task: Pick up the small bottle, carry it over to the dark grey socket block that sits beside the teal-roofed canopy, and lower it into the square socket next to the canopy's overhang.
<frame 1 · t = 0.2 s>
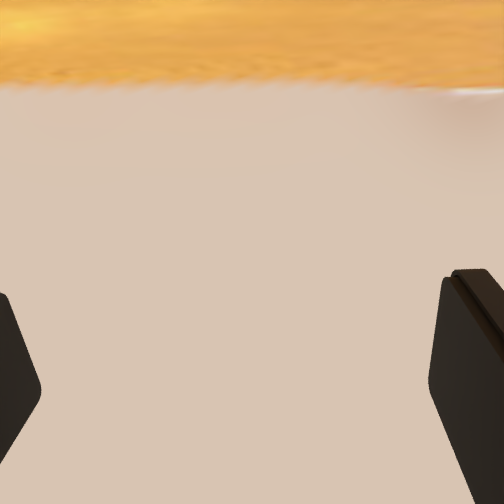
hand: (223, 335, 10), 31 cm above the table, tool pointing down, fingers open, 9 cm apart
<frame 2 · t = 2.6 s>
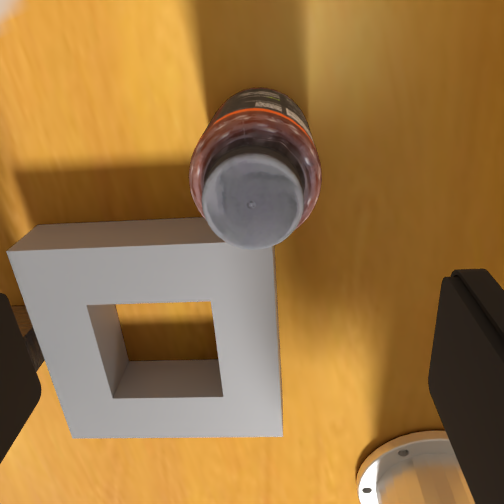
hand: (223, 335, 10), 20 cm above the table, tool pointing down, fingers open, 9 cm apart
socket block: (170, 318, 34), on the table
canopy: (36, 322, 35), on the table
supplement bottle: (260, 136, 27), on the table
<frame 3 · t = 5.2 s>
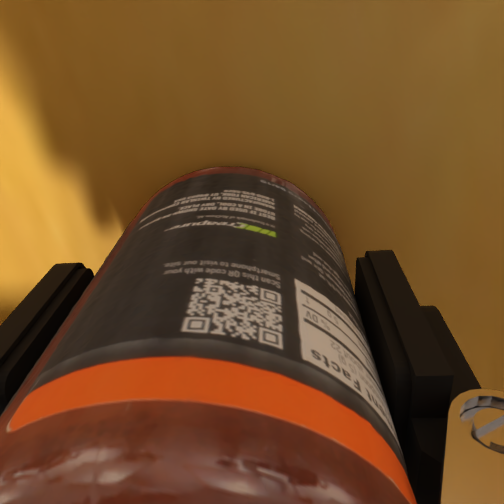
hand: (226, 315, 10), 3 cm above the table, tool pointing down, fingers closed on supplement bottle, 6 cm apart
supplement bottle: (235, 258, 13), on the table, touching gripper
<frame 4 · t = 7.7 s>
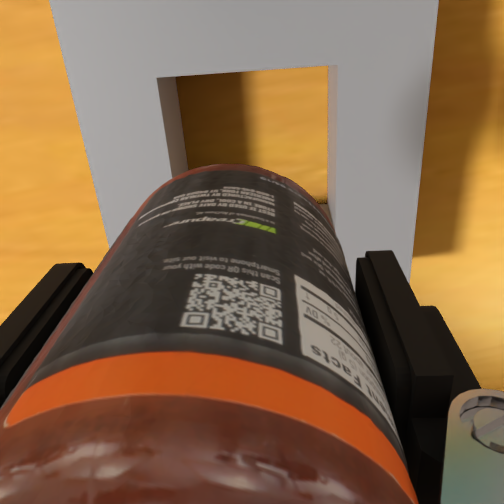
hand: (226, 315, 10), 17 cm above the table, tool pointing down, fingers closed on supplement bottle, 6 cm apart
socket block: (255, 140, 25), on the table
supplement bottle: (235, 255, 13), point 14 cm above the table, touching gripper
when the fingers open (5 cm above the table, at t = 10.5 s): supplement bottle drops 2 cm, resting in socket block.
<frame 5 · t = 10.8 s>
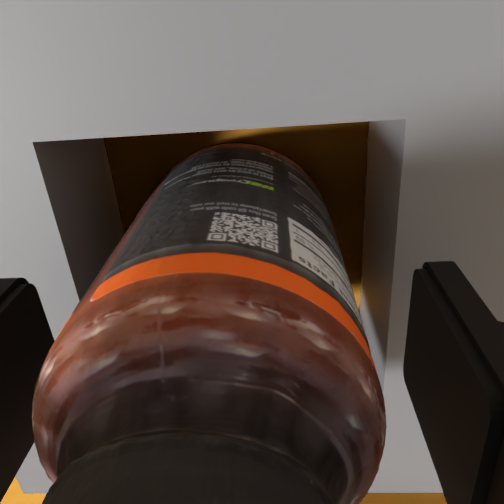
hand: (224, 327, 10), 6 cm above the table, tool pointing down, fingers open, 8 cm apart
socket block: (241, 225, 15), on the table
supplement bottle: (240, 224, 15), resting in socket block
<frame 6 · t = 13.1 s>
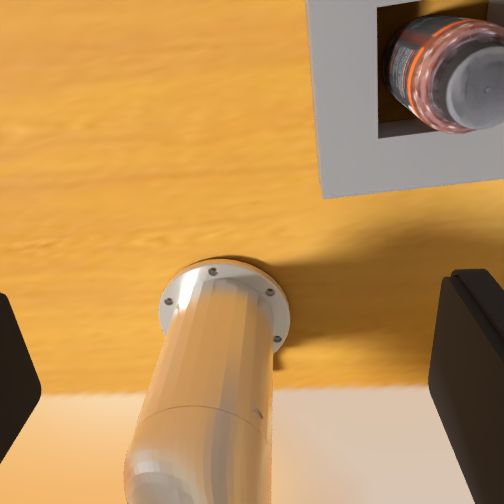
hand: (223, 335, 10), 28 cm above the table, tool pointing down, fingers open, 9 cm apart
socket block: (424, 60, 32), on the table
supplement bottle: (422, 61, 32), resting in socket block
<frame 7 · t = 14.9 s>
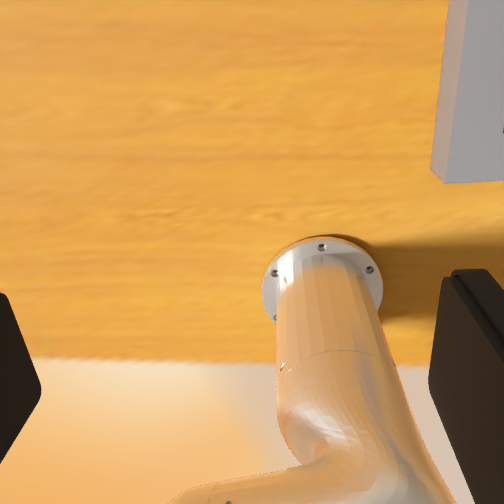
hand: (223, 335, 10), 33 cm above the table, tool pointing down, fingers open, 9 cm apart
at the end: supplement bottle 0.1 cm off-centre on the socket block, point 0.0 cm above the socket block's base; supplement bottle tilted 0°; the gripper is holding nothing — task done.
